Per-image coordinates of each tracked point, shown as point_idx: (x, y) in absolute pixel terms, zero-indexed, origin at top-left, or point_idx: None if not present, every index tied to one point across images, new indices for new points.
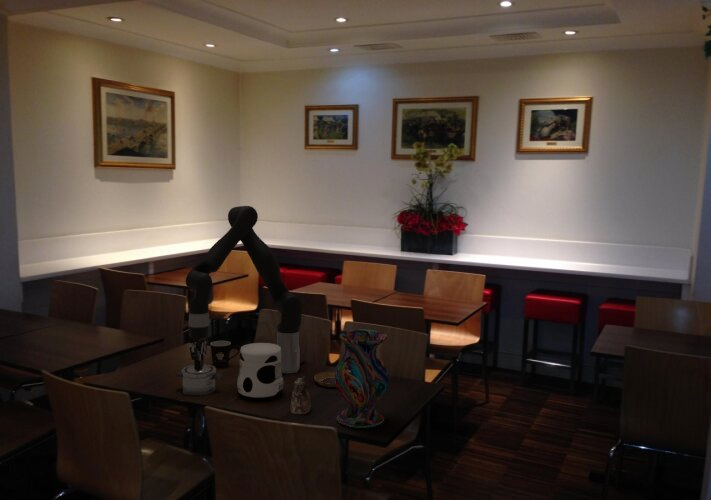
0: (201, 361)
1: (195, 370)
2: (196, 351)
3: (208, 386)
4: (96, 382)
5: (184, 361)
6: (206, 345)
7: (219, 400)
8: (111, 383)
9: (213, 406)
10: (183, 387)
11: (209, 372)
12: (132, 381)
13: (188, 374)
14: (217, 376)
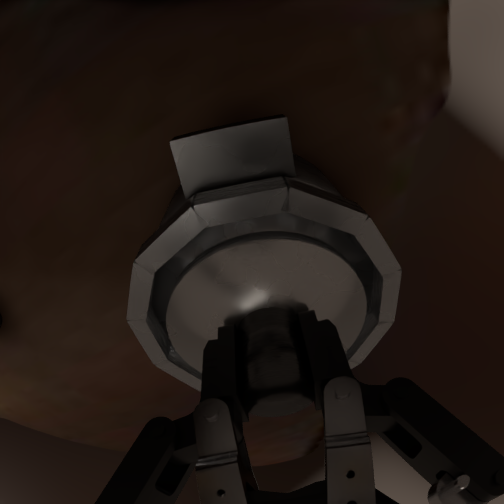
0: (288, 367)
1: None
2: (489, 454)
3: (307, 169)
4: (294, 455)
5: (45, 400)
6: (124, 500)
7: (370, 50)
8: (291, 444)
9: (446, 58)
10: None
11: (323, 209)
12: (259, 431)
13: (391, 321)
14: (277, 129)
